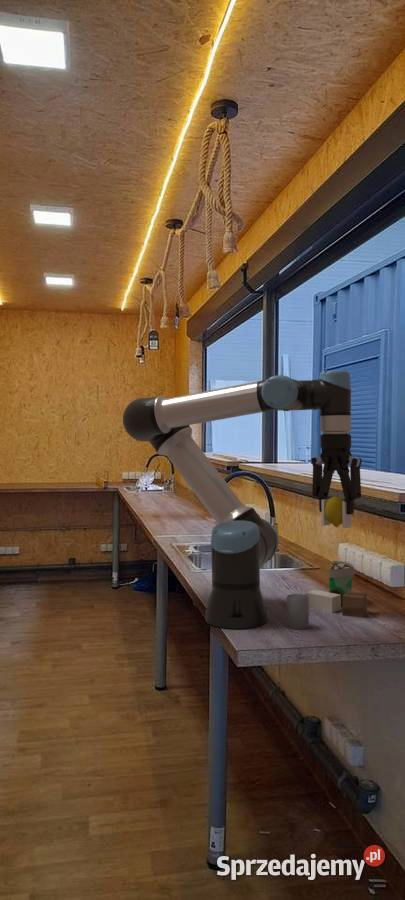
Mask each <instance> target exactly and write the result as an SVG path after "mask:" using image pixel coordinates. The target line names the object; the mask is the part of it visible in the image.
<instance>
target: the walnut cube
mask: <svg viewBox="0 0 405 900" xmlns="http://www.w3.org/2000/svg"><path fill="white" fill-rule="evenodd" d="M342 603H343V606H342V616H343V617H352V618H361V619H362V618H364V617H366V615H367V614H368V592H359V591H351V592H350V591H347V592H346V593H345V594H344V595H343V596H342Z"/></svg>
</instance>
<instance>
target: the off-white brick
mask: <svg viewBox="0 0 405 900" xmlns="http://www.w3.org/2000/svg"><path fill="white" fill-rule="evenodd" d="M305 595H307V596H308V609H312V610H313V609H314V610H318V611H322V612H327V613H331V614H333V613H336V612H339V611H342V607H341V595H339V594H334V593H330V591H329V592H328V591H324V590H318V589H312V590H309V591H306V592H305Z"/></svg>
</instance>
